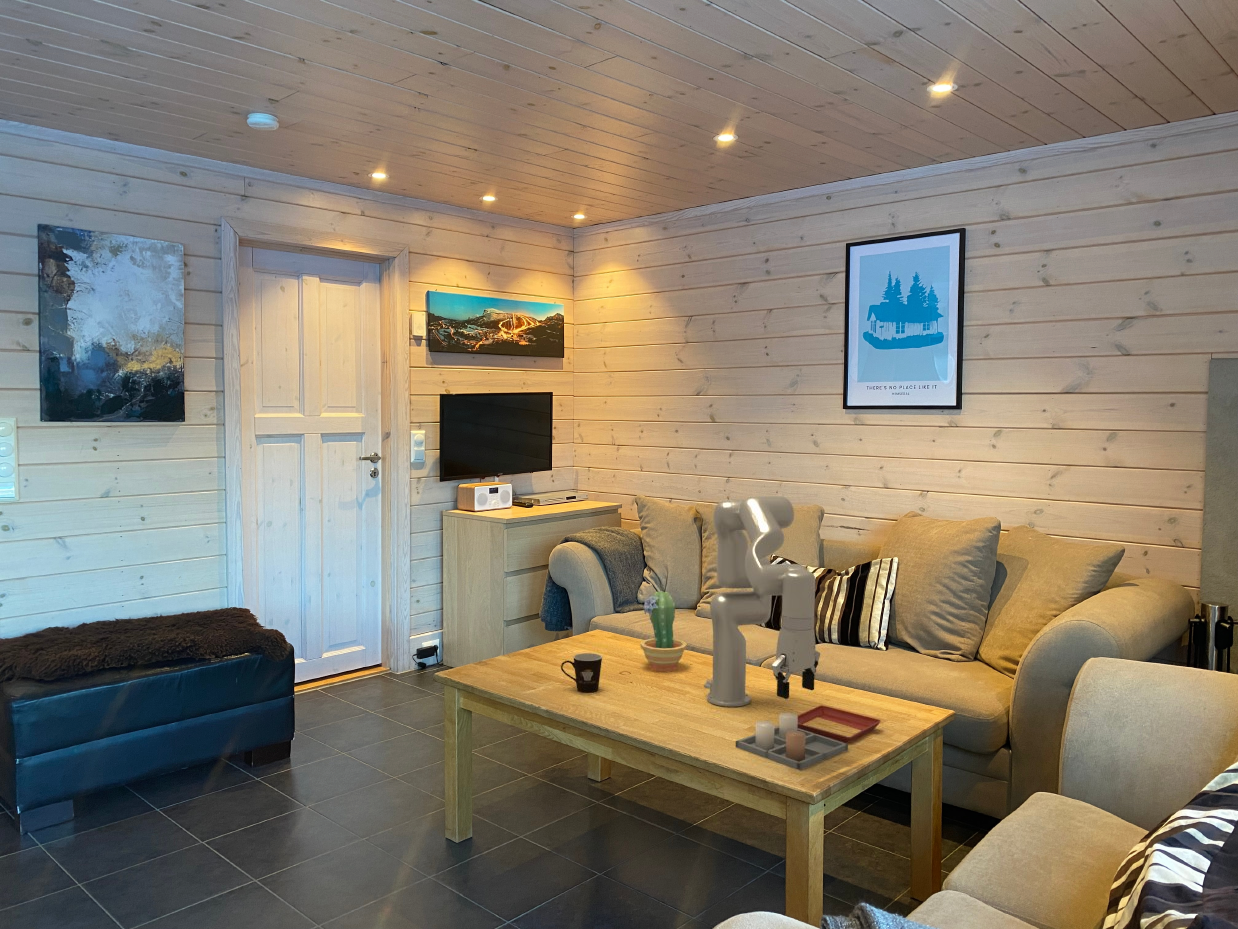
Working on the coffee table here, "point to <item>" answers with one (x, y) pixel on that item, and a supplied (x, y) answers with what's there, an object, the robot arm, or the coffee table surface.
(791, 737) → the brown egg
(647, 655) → the potted cactus
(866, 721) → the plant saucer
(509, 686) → the coffee table surface
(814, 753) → the gray divided tray
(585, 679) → the coffee mug
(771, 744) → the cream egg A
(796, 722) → the cream rounded cylinder
